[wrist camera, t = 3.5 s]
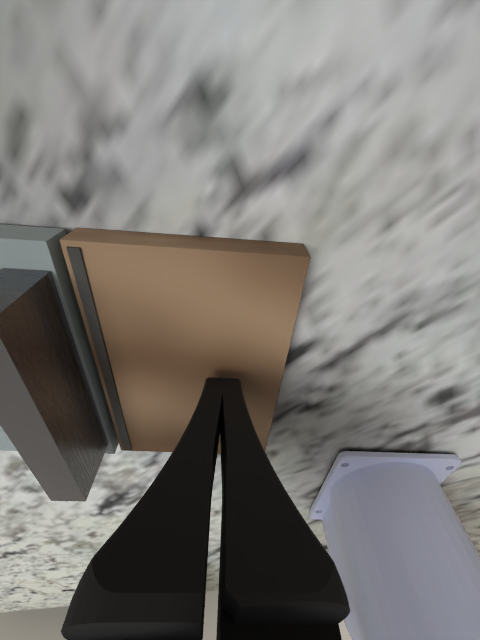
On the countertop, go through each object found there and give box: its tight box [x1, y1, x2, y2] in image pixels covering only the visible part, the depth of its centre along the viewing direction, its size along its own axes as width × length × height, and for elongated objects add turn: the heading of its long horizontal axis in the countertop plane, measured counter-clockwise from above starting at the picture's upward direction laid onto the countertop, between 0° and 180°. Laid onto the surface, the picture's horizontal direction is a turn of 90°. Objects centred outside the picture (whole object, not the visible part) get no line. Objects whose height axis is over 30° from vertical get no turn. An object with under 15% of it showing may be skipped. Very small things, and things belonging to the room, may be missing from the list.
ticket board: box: [60, 228, 310, 453], centre depth 13 cm, size 12×8×1 cm, turn 176°
